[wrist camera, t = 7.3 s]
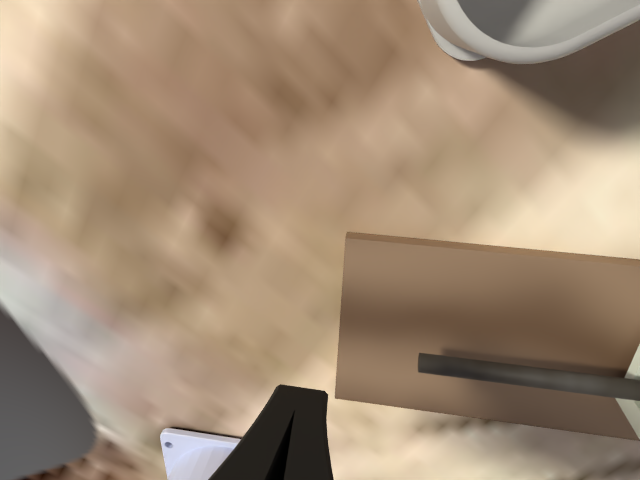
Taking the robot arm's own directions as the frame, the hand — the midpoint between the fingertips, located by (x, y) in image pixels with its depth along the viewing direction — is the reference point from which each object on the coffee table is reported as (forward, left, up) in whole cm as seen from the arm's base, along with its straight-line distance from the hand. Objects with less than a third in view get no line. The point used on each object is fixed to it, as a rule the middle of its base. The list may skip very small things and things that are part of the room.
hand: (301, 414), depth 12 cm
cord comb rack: (-3, -10, -8) cm, 14 cm away
